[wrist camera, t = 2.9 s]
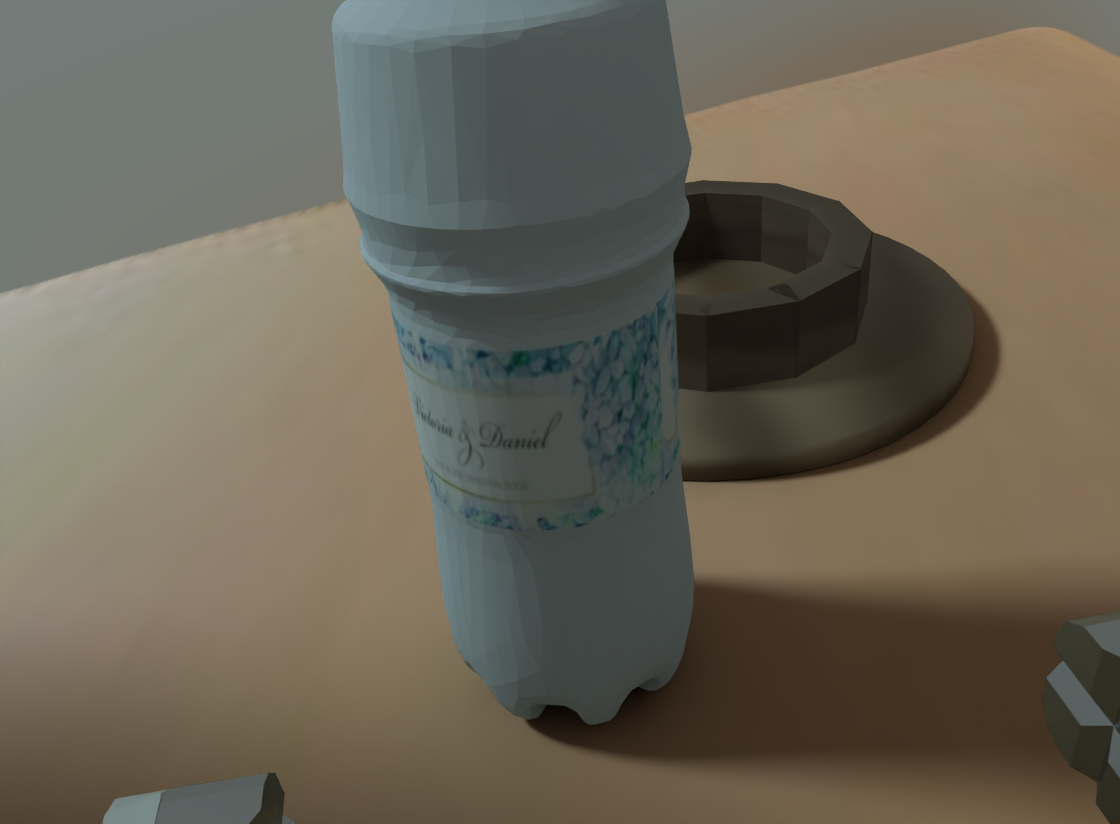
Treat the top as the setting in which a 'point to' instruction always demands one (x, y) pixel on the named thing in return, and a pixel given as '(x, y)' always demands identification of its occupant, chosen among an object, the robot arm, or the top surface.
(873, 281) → the coaster
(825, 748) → the top surface
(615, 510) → the bottle
